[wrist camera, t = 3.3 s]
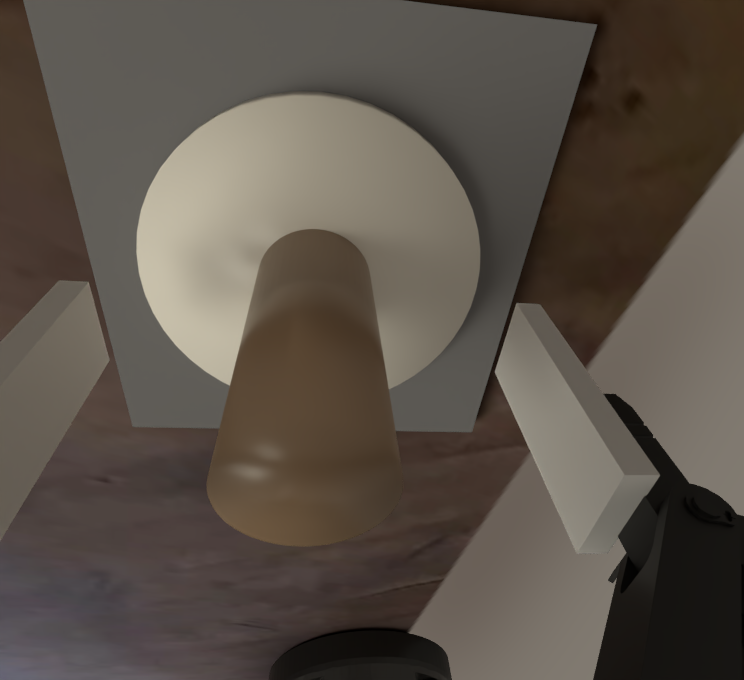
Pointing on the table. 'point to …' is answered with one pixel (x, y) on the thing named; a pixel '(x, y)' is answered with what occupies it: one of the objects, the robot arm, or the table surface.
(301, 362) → the lid
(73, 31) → the mat
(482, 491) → the table surface
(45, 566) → the table surface
